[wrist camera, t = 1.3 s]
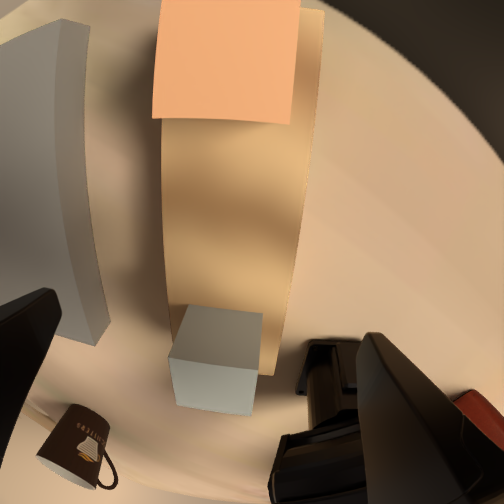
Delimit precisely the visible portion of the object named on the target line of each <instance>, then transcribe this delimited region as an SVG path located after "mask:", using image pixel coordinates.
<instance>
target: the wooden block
mask: <svg viewBox="0 0 504 504" xmlns="http://www.w3.org/2000/svg"><path fill="white" fill-rule="evenodd" d="M324 13H325V11H322V10H315V9H308V8H301V7H300V15H299V28H298V40H297V52H296V63H295V74H294V85H293V95H292V106H291V116H290V125H287V124H278V123H268V122H257V121H244V120H229V119H205V118H162V136H161V191H162V223H163V243H164V259H165V273H166V285H167V296H168V306H169V315H170V324H171V333H172V341H173V343H174V341H175V338H176V336H177V333H178V330H179V328H180V325H181V323H182V320H183V318H184V315H185V313H186V310H187V308H188V305H189V304H191V305H198V306H206V307H213V308H221V309H229V310H238V311H247V312H256V313H263V319H262V332H261V345H260V357H259V369H258V374H260V375H270V376H273V375H274V371H275V366H276V361H277V356H278V351H279V346H280V341H281V336H282V331H283V326H284V321H285V315H286V310H287V304H288V299H289V293H290V288H291V282H292V276H293V271H294V265H295V259H296V253H297V247H298V240H299V234H300V228H301V221H302V214H303V208H304V201H305V194H306V187H307V180H308V172H309V165H310V157H311V149H312V141H313V133H314V124H315V115H316V106H317V97H318V87H319V76H320V66H321V54H322V42H323V28H324Z"/></svg>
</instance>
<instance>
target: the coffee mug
mask: <svg viewBox="0 0 504 504" xmlns="http://www.w3.org/2000/svg"><path fill="white" fill-rule="evenodd" d="M109 430H110V426H109V424H108V422H107V421H106V420H105V419H104V418H102V417H101V416H100V415H98V414H97V413H95V412H94V411H92V410H90V409H88V408H86V407H84V406H81V405H77V404H72V405H70V407H69V408H68V410H67V411H66V412H65V414H64V415H63V417H62V418H61V419H60V421H59V422H58V424H57V425H56V426H55V428H54V429H53V431H52V432H51V434H50V435H49V437H48V438H47V439H46V441H45V443H44V444H43V445H42V447H41V448H40V450H39V451H38V453H37V454H36V458H37V459H38V460H39V461H40V462H41V463H42V464H44V465H45V466H46V467H48V468H49V469H51V470H52V471H53V472H55V473H57V474H58V475H60V476H61V477H63V478H65V479H67V480H69V481H71V482H73V483H75V484H77V485H79V486H82V487H84V488H87V489H91V490H95V489H96V485H97V484H98V485H99V486H100V487H101V488H103V489H107V490H112V489H114V488H115V487H116V486H117V484H118V476H117V472H116V470H115V467H114V465H113V463H112V461H111V460H110V458H109V456H108V454H107V453H106V451H105V446H106V442H107V438H108V434H109ZM103 455H104V457H105V458H106V460H107V462H108V464H109V465H110V467H111V469H112V471H113V475H114V482H113V484H112V485H111V486H104V485H103V484H102V483H101V482H100V481H99V479H98V475H99V471H100V467H101V463H102V458H103Z"/></svg>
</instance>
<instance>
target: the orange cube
mask: <svg viewBox="0 0 504 504" xmlns="http://www.w3.org/2000/svg"><path fill="white" fill-rule="evenodd" d="M300 2H301V0H162V4H161V12H160V19H159V27H158V36H157V46H156V57H155V70H154V85H153V105H152V118H205V119H229V120H244V121H257V122H268V123H278V124H287V125H290V116H291V106H292V95H293V85H294V74H295V63H296V52H297V40H298V28H299V15H300Z"/></svg>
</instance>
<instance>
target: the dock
mask: <svg viewBox="0 0 504 504" xmlns="http://www.w3.org/2000/svg"><path fill="white" fill-rule="evenodd" d="M89 31H90V26H88V25H84V24H81V23H77V22H73V21H69V20H65V19H59V20H57V21H54V22H51V23H49V24H46V25H43V26H41V27H39V28H36V29H34V30H31V31H29V32H27V33H25V34H22V35H20V36H18V37H16V38H14V39H12V40H10V41H8V42H6V43H4V44H2V45H0V306H1V305H3V304H6V303H8V302H10V301H12V300H15V299H17V298H19V297H21V296H24V295H26V294H28V293H31V292H33V291H35V290H38V289H40V288H42V287H47V288H51V289H54V290H55V291H56V293H57V296H58V300H59V303H60V306H61V309H62V318H61V320H60V323H59V325H58V327H57V330H56V332H55V335H58V336H61V337H65V338H68V339H71V340H75V341H78V342H81V343H85V344H89V345H92V346H96V344H97V343H98V341H99V339H100V338H101V336H102V335H103V333H104V332H105V330H106V328H107V327H108V325H109V324H110V322H111V321H110V317H109V313H108V309H107V305H106V301H105V297H104V292H103V288H102V283H101V278H100V273H99V268H98V263H97V257H96V251H95V245H94V239H93V232H92V225H91V218H90V210H89V201H88V191H87V180H86V166H85V146H84V90H85V71H86V58H87V48H88V39H89Z"/></svg>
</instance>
